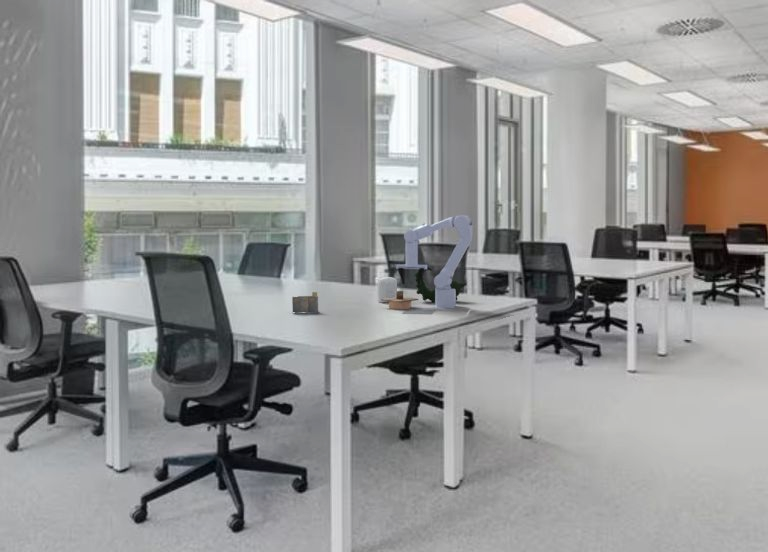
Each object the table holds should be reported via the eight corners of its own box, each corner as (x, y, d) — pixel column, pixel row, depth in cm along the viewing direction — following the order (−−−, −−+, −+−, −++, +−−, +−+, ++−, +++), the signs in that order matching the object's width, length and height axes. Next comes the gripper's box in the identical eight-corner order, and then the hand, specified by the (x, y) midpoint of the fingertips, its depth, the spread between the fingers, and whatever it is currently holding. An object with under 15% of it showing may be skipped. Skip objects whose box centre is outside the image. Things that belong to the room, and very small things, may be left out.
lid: (418, 300, 316) (418, 291, 315) (400, 302, 307) (399, 293, 307) (399, 297, 324) (399, 289, 324) (381, 300, 316) (381, 291, 316)
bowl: (412, 307, 320) (412, 299, 320) (408, 310, 311) (408, 301, 310) (391, 307, 322) (391, 298, 322) (387, 310, 313) (387, 301, 312)
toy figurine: (418, 306, 335) (469, 301, 335) (414, 268, 333) (465, 262, 333) (417, 304, 344) (466, 299, 344) (413, 266, 342) (463, 261, 342)
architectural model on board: (318, 312, 311) (317, 291, 310) (318, 313, 308) (317, 291, 307) (293, 313, 310) (292, 291, 309) (292, 314, 307) (292, 292, 306)
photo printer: (393, 300, 346) (393, 276, 345) (398, 301, 342) (398, 276, 341) (376, 302, 340) (376, 277, 339) (381, 303, 337) (380, 278, 335)
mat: (435, 311, 307) (435, 310, 307) (431, 315, 295) (431, 314, 295) (407, 310, 310) (407, 309, 310) (401, 315, 298) (401, 313, 297)
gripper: (428, 255, 324) (428, 283, 326) (398, 254, 328) (398, 283, 329) (425, 256, 317) (425, 285, 319) (395, 255, 321) (395, 284, 322)
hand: (411, 284), depth 323 cm, fingers open, 7 cm apart
